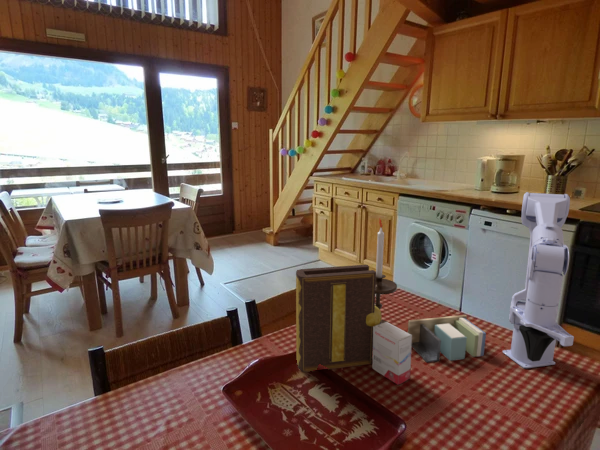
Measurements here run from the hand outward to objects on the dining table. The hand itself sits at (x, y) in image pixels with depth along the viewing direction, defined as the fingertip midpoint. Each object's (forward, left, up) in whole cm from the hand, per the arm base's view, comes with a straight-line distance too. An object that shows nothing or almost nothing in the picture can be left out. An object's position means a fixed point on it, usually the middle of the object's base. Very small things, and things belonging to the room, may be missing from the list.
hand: (533, 359), depth 81 cm
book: (+37, -23, -10) cm, 45 cm away
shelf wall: (+6, -27, -10) cm, 30 cm away
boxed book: (+6, -21, -10) cm, 24 cm away
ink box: (+26, -15, -10) cm, 32 cm away
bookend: (+13, -22, -10) cm, 27 cm away
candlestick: (+20, -38, -10) cm, 44 cm away
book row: (-1, -22, -10) cm, 24 cm away
